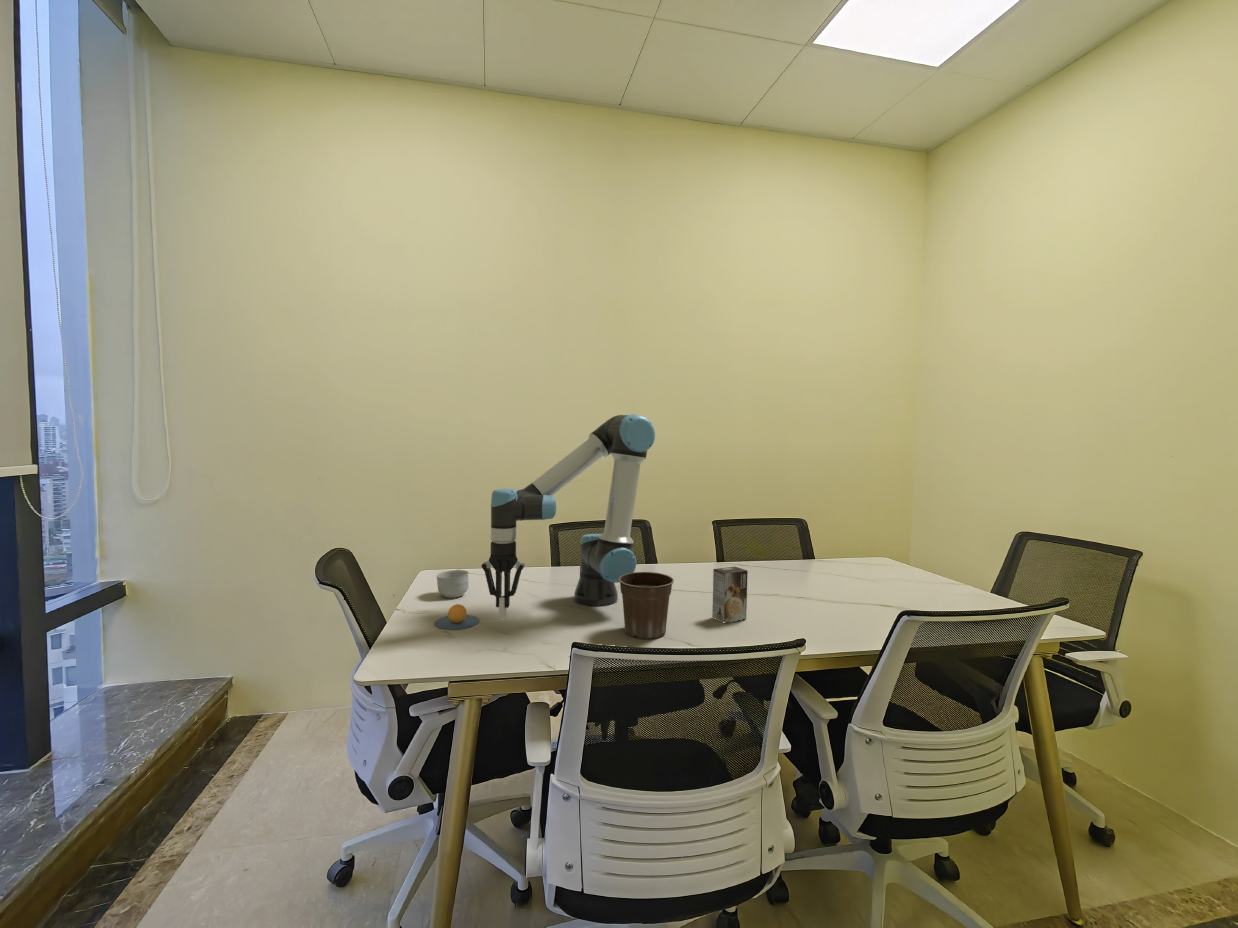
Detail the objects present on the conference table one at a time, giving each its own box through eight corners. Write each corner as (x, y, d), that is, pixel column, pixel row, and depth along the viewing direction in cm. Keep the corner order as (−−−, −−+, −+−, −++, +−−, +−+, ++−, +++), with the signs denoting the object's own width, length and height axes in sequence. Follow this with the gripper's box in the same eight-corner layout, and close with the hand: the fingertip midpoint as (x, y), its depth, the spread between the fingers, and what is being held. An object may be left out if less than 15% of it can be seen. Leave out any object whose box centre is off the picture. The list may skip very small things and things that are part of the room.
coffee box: (734, 613, 190) (735, 565, 188) (746, 619, 184) (748, 570, 183) (711, 617, 185) (713, 568, 184) (723, 623, 180) (725, 573, 179)
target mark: (484, 615, 181) (484, 615, 181) (471, 630, 169) (471, 629, 168) (443, 614, 182) (443, 613, 182) (427, 628, 169) (427, 628, 169)
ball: (465, 621, 178) (471, 605, 177) (459, 628, 172) (466, 611, 172) (449, 615, 178) (455, 599, 177) (442, 621, 172) (448, 604, 172)
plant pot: (631, 645, 160) (632, 588, 159) (608, 626, 175) (610, 574, 174) (682, 638, 167) (683, 583, 166) (656, 620, 181) (658, 569, 180)
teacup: (459, 601, 196) (459, 578, 195) (430, 598, 198) (430, 575, 197) (477, 590, 209) (477, 568, 209) (450, 587, 212) (450, 566, 211)
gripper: (527, 539, 176) (526, 614, 178) (485, 537, 177) (484, 612, 179) (522, 544, 169) (521, 622, 171) (478, 542, 169) (477, 621, 171)
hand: (502, 617), depth 175 cm, fingers closed
